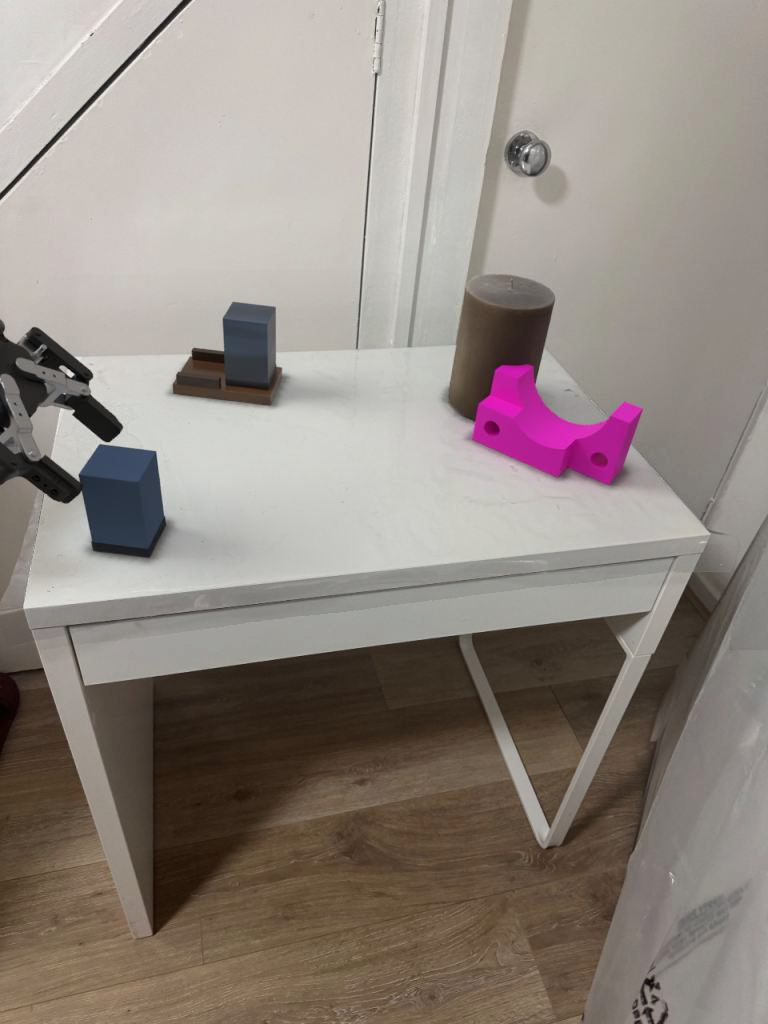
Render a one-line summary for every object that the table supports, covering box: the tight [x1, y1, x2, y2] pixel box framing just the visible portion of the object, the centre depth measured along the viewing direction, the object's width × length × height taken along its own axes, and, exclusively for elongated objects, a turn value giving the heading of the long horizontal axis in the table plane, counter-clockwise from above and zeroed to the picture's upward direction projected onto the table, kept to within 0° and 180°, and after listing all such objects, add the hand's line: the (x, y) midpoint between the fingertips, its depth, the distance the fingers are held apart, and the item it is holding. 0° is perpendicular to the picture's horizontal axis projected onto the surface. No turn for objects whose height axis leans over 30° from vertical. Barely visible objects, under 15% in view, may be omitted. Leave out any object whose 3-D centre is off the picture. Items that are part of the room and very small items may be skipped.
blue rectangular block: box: [78, 443, 167, 558], centre depth 64 cm, size 4×5×8 cm
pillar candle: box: [447, 273, 556, 420], centre depth 85 cm, size 10×10×15 cm
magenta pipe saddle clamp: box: [471, 364, 644, 486], centre depth 80 cm, size 15×6×8 cm, turn 54°
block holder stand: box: [172, 301, 283, 406], centre depth 85 cm, size 7×11×9 cm, turn 85°
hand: (97, 464), depth 62 cm, fingers open, 8 cm apart
